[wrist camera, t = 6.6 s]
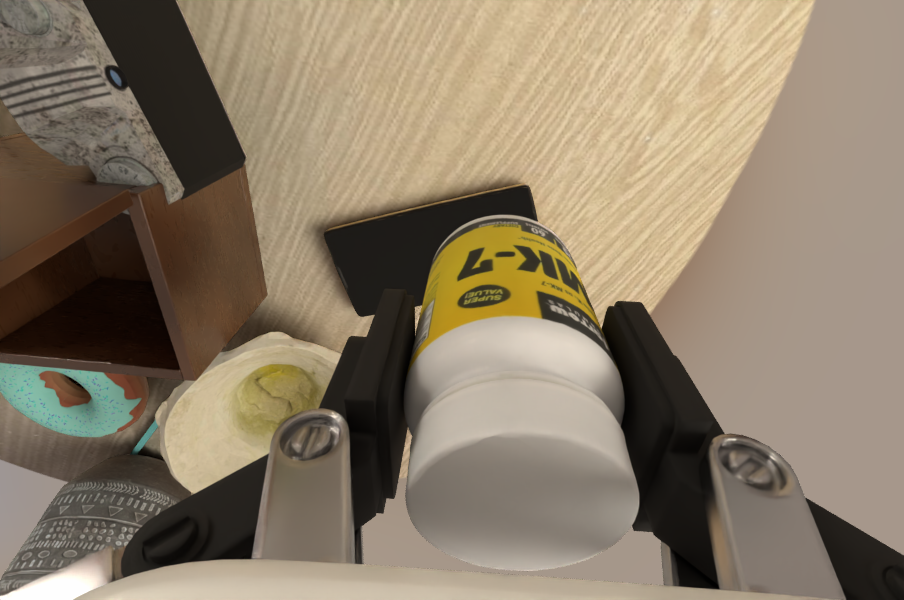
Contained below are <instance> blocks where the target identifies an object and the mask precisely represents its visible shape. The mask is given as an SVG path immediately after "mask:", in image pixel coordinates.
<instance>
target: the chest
mask: <svg viewBox="0 0 904 600" xmlns="http://www.w3.org/2000/svg"><path fill="white" fill-rule="evenodd" d="M0 177H1V178H12V179H23V180H34V181H45V182H56V183H67V184H79V185H90V186H101V187H112V188H123V189H128V191H129V193H130V196H131V198H132V201H133V203H134V205H133V206H131V207H129V208H128V211H129V214H130V215H129V214H125V213H123V212H121V213H120V214H118V215H117V216H115V217H114V218H112V219H110V220H109V221H107V222H106V223H104V224H102V225H101V226H99V227H98V228H96V229H94V230H93V231H91V232H90V233H88V234H87V235H85V236H83V237H82V238H80V239H79V240H77V241H75V242H74V243H72V244H71V245H69V246H68V247H66V248H64V249H63V250H61V251H60V252H58V253H56V254H55V255H53V256H52V257H50V258H48V259H47V260H45V261H44V262H42V263H41V264H39V265H37V266H36V267H34V268H33V269H31V270H29V271H28V272H26V273H25V274H23V275H21V276H20V277H18V278H17V279H15V280H14V281H12V282H10V283H9V284H7V285H6V286H4V287H2V288H1V289H0V363H6V364H17V365H27V366H38V367H49V368H59V369H70V370H81V371H91V372H102V373H113V374H123V375H134V376H145V377H155V378H166V379H177V380H189V381H197V380H198V378H199V377H200V376H201V375H202V373H203V372H204V371H205V370H206V369H207V367H208V366H209V365H210V364H211V363H212V361H213V360H214V359H215V358H216V357H217V355H218V354H219V353H220V352H221V351H222V349H223V348H224V347H225V346H226V344H227V343H228V342H229V341H230V340H231V338H232V337H233V336H234V335H235V334H236V332H237V331H238V330H239V329H240V328H241V326H242V325H243V324H244V323H245V321H246V320H247V319H248V318H249V317H250V315H251V314H252V313H253V312H254V311H255V309H256V308H257V307H258V306H259V305H260V303H261V302H262V301H263V300H264V299H265V298H266V296H267V290H266V284H265V278H264V272H263V266H262V261H261V255H260V249H259V243H258V237H257V232H256V226H255V220H254V214H253V208H252V203H251V197H250V191H249V185H248V179H247V173H246V168H245V164H244V165H243V167H242V168H240V169H238V170H236V171H234V172H233V173H231V174H229V175H227V176H225V177H223V178H221V179H220V180H218V181H216V182H214V183H212V184H210V185H209V186H207V187H205V188H203V189H201V190H199V191H198V192H196V193H194V194H192V195H190V196H188V197H187V198H185V199H183V200H181V198H180V199H178V200H177V201H175V202H173V203H171V204H169V205H168V202H167V198H166V195H165V191H164V187H163V184H162V183H159V182H157V183H153V184H151V185H149V186H136V185H126V184H116V183H105V182H98V181H97V177H95V175H94V173H93V172H92V170H91V169H90V167H89V166H88V165H65V164H64V163H63V162H61V161H60V160H59V159H57V158H56V157H55V156H53V155H52V154H50V153H48V152H47V151H45V150H43V149H42V148H40V147H39V146H38V145H37V144H36V143H35V142H33V141H32V140H31V139H30V138H29V137H28V136H27V135H26V134H25V133H24V132H23V133H18V134H13V135H8V136H4V137H0Z"/></svg>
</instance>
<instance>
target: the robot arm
mask: <svg viewBox="0 0 904 600" xmlns="http://www.w3.org/2000/svg"><path fill="white" fill-rule="evenodd" d="M602 332H603V334H604V337H605V339H606V342H607V344H608V346H609V349H610V351H611V353H612V356H613V358H614V360H615V363H616V365H617V368H618V370H619V373H620V376H621V380H622V384H623V389H624V397H625V410H624V416H623V420H622V424H621V426H620V427H621V429H622V431H623V433H624V437H625V441H626V447H627V450H628V454H629V458H630V462H631V465H632V469H633V472H634V475H635V478H636V482H637V486H638V490H639V508H638V513H637V516H636V518H635V521H634V523H633V525H632V527H633V529H634V531H646V532H653V534H654V535H655V536H656V537H657V538H658V539H660V540H661V556H662V568H663V581H664V585H652V584H637V583H624V582H611V581H597V580H583V579H569V578H556V577H541V576H527V575H513V574H499V573H484V572H470V571H455V570H439V569H425V568H409V567H395V566H379V565H365V564H364V559H363V538H362V537H363V536H362V526H363V525H364V524H365V523H367V522H368V521H369V520H371V519H372V518H373V517H375V516H376V513H384V507H385V503H386V498H390V499H394V498H395V495H396V489H397V484H398V478H399V473H400V467H401V462H402V456H403V451H404V445H405V439H406V434H407V428H408V425H407V422H406V419H405V413H404V388H405V381H406V376H407V372H408V367H409V363H410V358H411V354H412V349H413V345H414V340H415V299H414V296H412V295H407V291H406V290H403V289H384V291H383V294H382V297H381V299H380V302H379V305H378V308H377V310H376V313H375V316H374V318H373V321H372V324H371V327H370V329H369V332H368V335H367V337H358V336H351V337H349V339H348V340H347V342H346V345H345V347H344V350H343V352H342V354H341V357H340V359H339V361H338V364H337V366H336V368H335V371H334V373H333V375H332V378H331V380H330V382H329V385H328V387H327V389H326V392H325V394H324V396H323V399H322V401H321V403H320V406H319V408H318V409H309V410H305V411H301V412H299V413H297V414H295V415H293V416H290V417H289V418H288V419H286V420H285V421H284V422H283V423H281V424H280V426H279V427H278V428H277V429H276V431H275V432H274V434H273V437H272V440H271V444H270V450H269V453H268V454H267V455H265V456H263V457H261V458H259V459H257V460H256V461H254V462H252V463H250V464H248V465H246V466H244V467H243V468H241V469H239V470H237V471H235V472H233V473H232V474H230V475H228V476H226V477H224V478H222V479H221V480H219V481H217V482H215V483H213V484H211V485H210V486H208V487H206V488H204V489H202V490H200V491H199V492H197V493H195V494H193V495H191V496H189V497H188V498H186V499H184V500H182V501H180V502H178V503H177V504H175V505H173V506H171V507H169V508H167V509H165V510H164V511H162V512H160V513H159V514H157V515H156V516H154V517H153V518H151V519H150V520H148V521H147V522H146V523H145V524H144V525H143V526H142V527H141V528H140V529H139V530H138V531H137V532H136V533H135V534H134V535H133V537H132V538H131V540H130V541H129V543H128V544H127V545H126V546H124V547H121V548H119V549H117V550H114V548H113V547H112V546H111V545H110V546H108V547H106V548H104V549H102V550H100V551H97V552H95V553H93V554H91V555H89V556H87V557H84V558H82V559H80V560H78V561H76V562H74V563H72V564H69V565H67V566H65V567H63V568H61V569H59V570H56V571H54V572H52V573H50V574H48V575H46V576H43V577H41V578H39V579H37V580H35V581H33V582H30V583H28V584H26V585H24V586H22V587H20V588H18V589H15V590H13V591H11V592H9V593H7V594H5V595H2V596H0V600H904V555H902V554H900V553H898V552H897V551H895V550H893V549H891V548H890V547H888V546H887V545H885V544H883V543H881V542H880V541H878V540H877V539H875V538H873V537H871V536H870V535H868V534H866V533H864V532H863V531H861V530H859V529H858V528H856V527H854V526H853V525H851V524H849V523H848V522H846V521H844V520H842V519H841V518H839V517H837V516H836V515H834V514H832V513H831V512H829V511H827V510H826V509H824V508H822V507H821V506H819V505H817V504H815V503H814V502H812V501H810V500H809V499H807V498H805V496H804V494H803V491H802V489H801V486H800V484H799V481H798V479H797V476H796V474H795V473H794V471H793V469H792V468H791V466H790V465H789V464H788V462H786V461H785V460H784V458H783V457H782V456H781V455H780V454H778V453H777V452H776V451H774V450H773V449H771V448H770V447H769V446H767V445H765V444H763V443H761V442H759V441H757V440H755V439H752V438H749V437H746V436H743V435H736V434H724V432H723V430H722V429H721V427H720V425H719V424H718V422H717V421H716V419H715V417H714V416H713V414H712V412H711V411H710V409H709V408H708V406H707V404H706V403H705V401H704V399H703V398H702V396H701V394H700V393H699V391H698V389H697V388H696V386H695V385H694V383H693V381H692V380H691V378H690V376H689V375H688V373H687V372H686V370H685V368H684V367H683V365H682V363H681V362H680V360H679V359H678V358H677V357H676V356H674V355H673V353H672V352H671V350H670V349H669V347H668V345H667V344H666V342H665V340H664V338H663V337H662V335H661V334H660V332H659V331H658V329H657V327H656V325H655V324H654V322H653V320H652V319H651V317H650V315H649V314H648V312H647V310H646V309H645V307H644V305H643V304H642V303H641V302H626V301H617V302H616V304H615V305H614V306H609V307H608V308H607V311H606V315H605V318H604V322H603V326H602Z"/></svg>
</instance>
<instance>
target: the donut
mask: <svg viewBox="0 0 904 600" xmlns="http://www.w3.org/2000/svg"><path fill="white" fill-rule="evenodd" d="M63 374H64V375H66V376H68V377H70V378H72V379H74V380H75V381H77V382H78V383H79V384H81V385H82V386H83V387H84V388H85V389H83V388H81V387H79V386H78V385H76V384H74V383H73V382H71V381H70V380H69V379H68V378H67V377H65V376H64V375H63ZM0 392H1V393H2V395H3V396H4V398H5V399H6V400H7V401H8V402H9V403H10V404H11V405H12V406H13V407H14V408H15V409H17V410H18V411H19V412H21V413H22V414H24V415H25V416H27V417H28V418H30V419H31V420H33V421H35V422H36V423H38V424H40V425H42V426H44V427H46V428H48V429H51V430H54V431H56V432H59V433H63V434H67V435H71V436H79V437H102V436H106V435H110V434H113V433H116V432H119V431H122V430H124V429H126V428H127V427H129V426H130V425H132V424H133V423H134V422H136V421H137V420H138V419H139V417H140V416H141V415H142V413H143V412H144V410H145V407H146V404H147V401H148V398H149V385H148V382H147V378H146V377H145V376H134V375H123V374H113V373H102V372H91V371H81V370H70V369H59V368H49V367H38V366H27V365H17V364H6V363H0Z"/></svg>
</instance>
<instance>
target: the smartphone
mask: <svg viewBox="0 0 904 600" xmlns="http://www.w3.org/2000/svg"><path fill="white" fill-rule="evenodd" d="M493 215H515V216H521V217H525V218H529V219H531V220H534V221H537V222H538V220H537V214H536V209H535V205H534V201H533V197H532V193H531V190H530V187H529V186H528V184H525V183H523V184H517V185H513V186H508V187H503V188H499V189H494V190H489V191H485V192H480V193H476V194H471V195H467V196H462V197H458V198H454V199H449V200H445V201H441V202H436V203H432V204H427V205H423V206H419V207H415V208H410V209H406V210H402V211H398V212H394V213H390V214H385V215H381V216H377V217H373V218H369V219H365V220H361V221H357V222H353V223H349V224H345V225H341V226H337V227H333V228H330V229H328V230H327V231H325V233H324V237H325V241H326V243H327V246H328V249H329V251H330V254H331V256H332V259H333V261H334V264H335V266H336V269H337V271H338V274H339V276H340V278H341V281H342V283H343V285H344V287H345V289H346V292H347V294H348V296H349V298H350V300H351V302H352V305H353V307H354V309H355V311H356V313H357V314H358V315H359V316H361V317H364V316H370V315H375V313H376V310H377V308H378V305H379V302H380V299H381V297H382V294H383V291H384V289H403V290H406V291H407V295H412V296H414V299H415V306H420V305H422V304H423V300H424V295H425V291H426V287H427V282H428V277H429V272H430V268H431V265H432V262H433V259H434V257H435V255H436V253H437V251H438V249H439V248H440V246H441V245H442V243H443V242H444V241H445V240H446V239H447V238H448V237H449V236H450V235H451V234H452V233H453V232H454V231H455V230H457V229H458V228H459V227H461V226H463V225H464V224H466V223H468V222H470V221H473V220H475V219H478V218H482V217H487V216H493Z"/></svg>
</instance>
